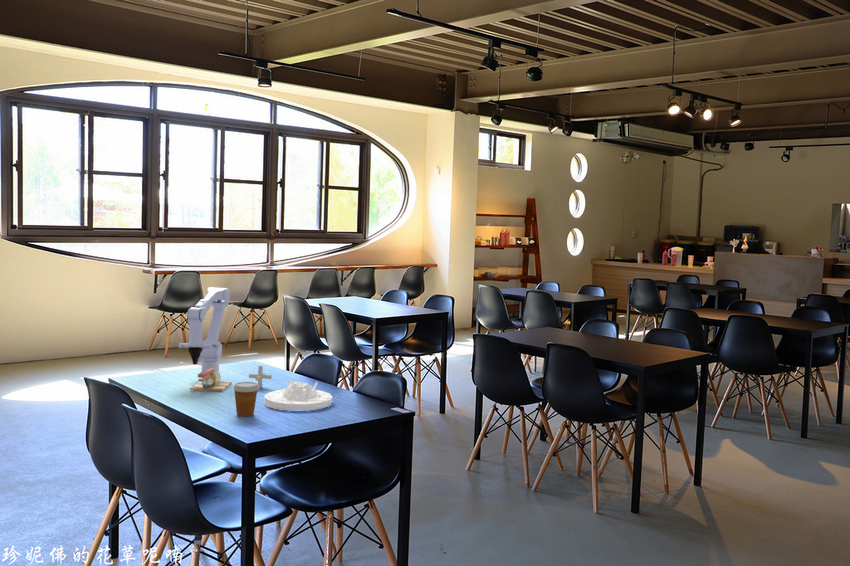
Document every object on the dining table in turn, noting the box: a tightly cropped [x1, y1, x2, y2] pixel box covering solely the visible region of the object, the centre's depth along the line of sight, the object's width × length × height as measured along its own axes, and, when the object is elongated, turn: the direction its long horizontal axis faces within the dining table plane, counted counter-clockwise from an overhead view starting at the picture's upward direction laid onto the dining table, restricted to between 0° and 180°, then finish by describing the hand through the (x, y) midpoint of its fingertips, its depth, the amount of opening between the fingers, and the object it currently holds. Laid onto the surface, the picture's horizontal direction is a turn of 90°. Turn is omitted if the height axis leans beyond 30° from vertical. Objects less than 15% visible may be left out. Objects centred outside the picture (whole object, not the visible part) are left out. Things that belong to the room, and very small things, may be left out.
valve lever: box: [197, 368, 214, 379], centre depth 310 cm, size 15×3×1 cm, turn 179°
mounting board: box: [189, 380, 232, 393], centre depth 317 cm, size 16×14×1 cm
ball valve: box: [202, 371, 221, 388], centre depth 317 cm, size 16×6×7 cm, turn 1°
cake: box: [263, 378, 333, 411], centre depth 295 cm, size 28×28×10 cm
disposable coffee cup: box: [232, 381, 260, 418], centre depth 273 cm, size 10×10×12 cm
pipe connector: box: [248, 364, 273, 389], centre depth 321 cm, size 10×10×10 cm
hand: (195, 364), depth 319 cm, fingers closed
